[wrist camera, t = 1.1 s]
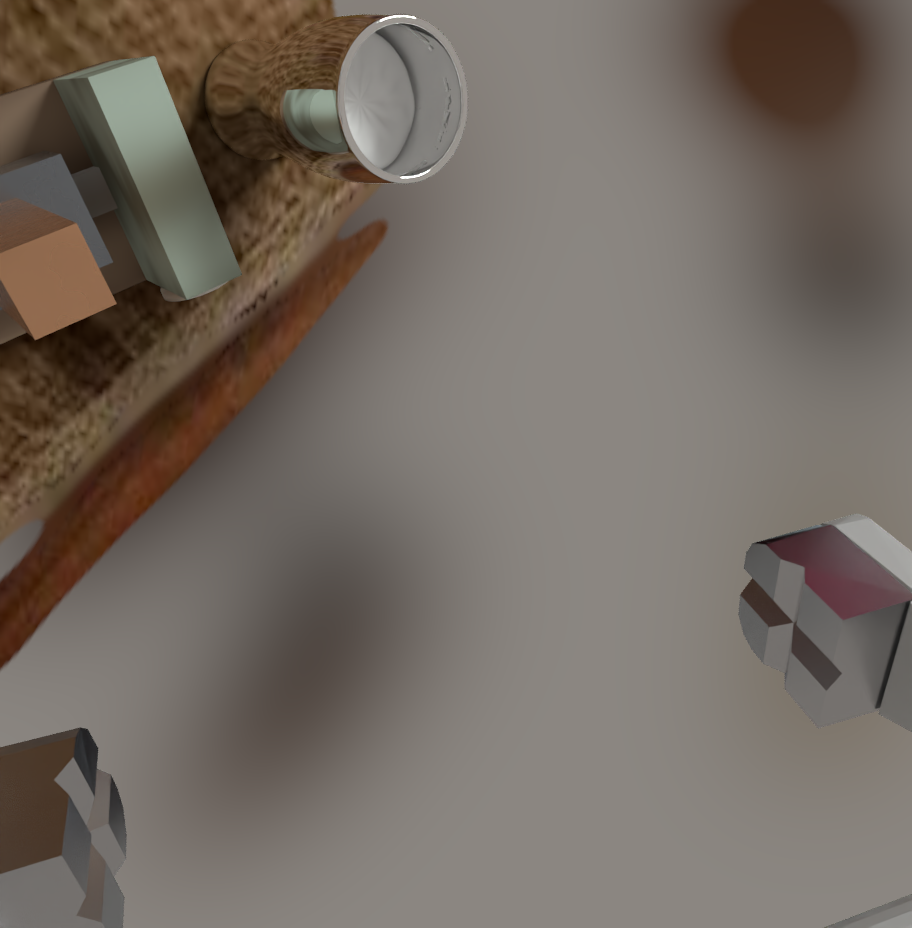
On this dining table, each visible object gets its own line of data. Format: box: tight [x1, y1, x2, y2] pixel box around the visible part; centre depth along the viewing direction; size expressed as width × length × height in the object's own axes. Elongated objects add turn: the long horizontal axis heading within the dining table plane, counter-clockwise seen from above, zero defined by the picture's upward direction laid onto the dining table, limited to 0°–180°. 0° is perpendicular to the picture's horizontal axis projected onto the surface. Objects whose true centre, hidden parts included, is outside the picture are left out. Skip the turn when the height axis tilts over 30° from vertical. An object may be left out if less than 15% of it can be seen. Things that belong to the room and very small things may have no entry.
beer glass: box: [205, 14, 468, 184], centre depth 40 cm, size 7×7×15 cm
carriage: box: [0, 151, 117, 340], centre depth 33 cm, size 5×8×13 cm, turn 107°
